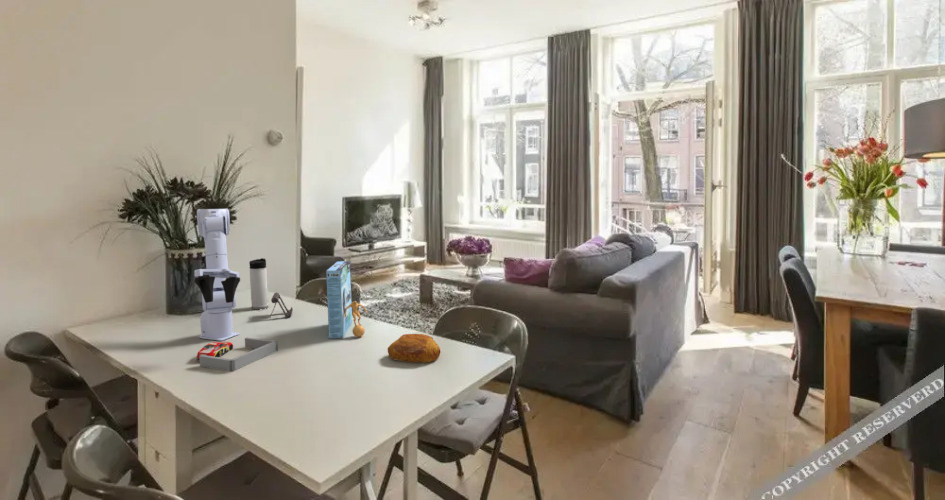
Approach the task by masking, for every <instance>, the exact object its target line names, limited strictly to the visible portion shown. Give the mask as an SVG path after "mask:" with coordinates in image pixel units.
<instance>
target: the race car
mask: <svg viewBox="0 0 945 500" xmlns="http://www.w3.org/2000/svg"><path fill="white" fill-rule="evenodd" d="M233 349H234V344H233V343H232V342H230V341H217V342H215V341H214V342H209V343H207V344H206V345H204V346H203V347H202V348H200V350H199V351H198V352H197V355H196V360H197V361H200V359H199V356H201V355H207V356H213V357H220V358H221V357H222V356H223V355H225V354H227V353H228V352H230V351H232V350H233Z"/></svg>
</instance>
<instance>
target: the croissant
mask: <svg viewBox="0 0 945 500" xmlns="http://www.w3.org/2000/svg"><path fill="white" fill-rule="evenodd" d="M387 353H388V356H389V358H390V359H392V360H393V361H399V362H403V363H405V362H406V363H419V364H421V363H424V364H427V363H431V362H435V361H438V360H439V358H440V355H441V348H440V346H439V344H438V343H437V342H436V340H435V339H434V338H433V337H432V336H430V335H427V334H423V333H406V334H402V335H401V336H400V337H399V338H397V339H396V340H394V341H393V342H392V343H391V344H390V345H389V346H388V347H387Z"/></svg>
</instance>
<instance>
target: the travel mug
mask: <svg viewBox="0 0 945 500" xmlns="http://www.w3.org/2000/svg"><path fill="white" fill-rule="evenodd" d="M248 264H249V278H250V279H249V281H250V282H249V283H250V300H251V301H250V302H251V309H252V310H254V309H257V310H256V311H259V310H258V309H262V310H265V308H266V309H268V308H269V290H268V273H267V272H268V271H267V260H266V258H263V257H262V258H256V259H253V260H250V261H249V263H248Z"/></svg>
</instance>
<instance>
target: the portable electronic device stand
mask: <svg viewBox="0 0 945 500" xmlns="http://www.w3.org/2000/svg"><path fill="white" fill-rule="evenodd" d="M270 300H271V303H272V304H274V306H273V309H272V311H271V313H270V316H269V319H271V317H272V315H273V313H274V310H275V307H276V305H277V303H278V305H279V307H280V308H281V310H282V312H283V315H284V316H285V317H286V319H290V318H291V317H292V315H293V306H291V307H290V309H288V308H287V306H286V304H285V303H284V300H283V298H282V297H281V295H280V293H279V292H274V293H273V296H272V297H271V299H270Z"/></svg>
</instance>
